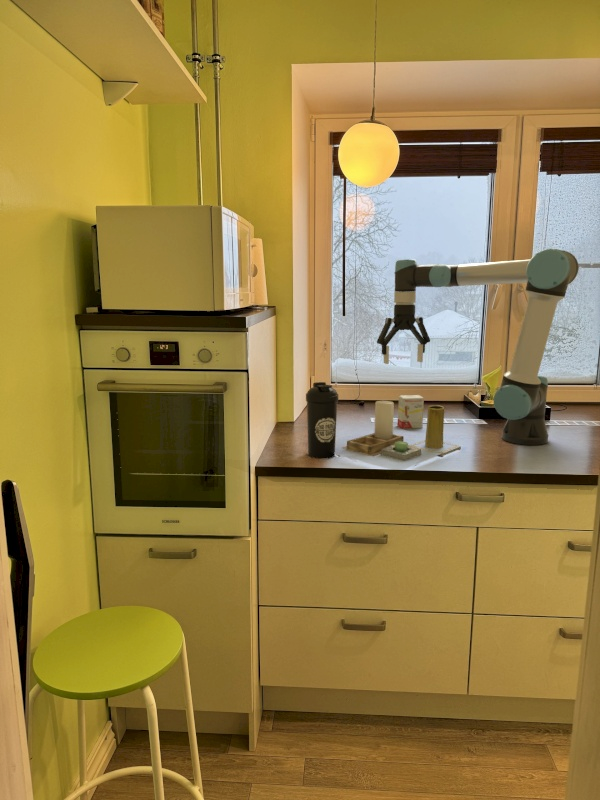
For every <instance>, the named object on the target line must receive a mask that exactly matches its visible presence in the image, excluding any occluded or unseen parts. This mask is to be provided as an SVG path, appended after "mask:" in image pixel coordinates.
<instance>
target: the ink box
mask: <svg viewBox="0 0 600 800" xmlns="http://www.w3.org/2000/svg"><path fill="white" fill-rule="evenodd" d="M424 400H425V398H424V397H423V396H421V395H420V394H415V395H414V394H413V395H412V394H410V395H409V394H407V395H405V394H404V395H399V396H398V407H397V408H398V409H397V426H398V427H399V428H400V429H422V428H423V424H424V403H425V402H424Z"/></svg>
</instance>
